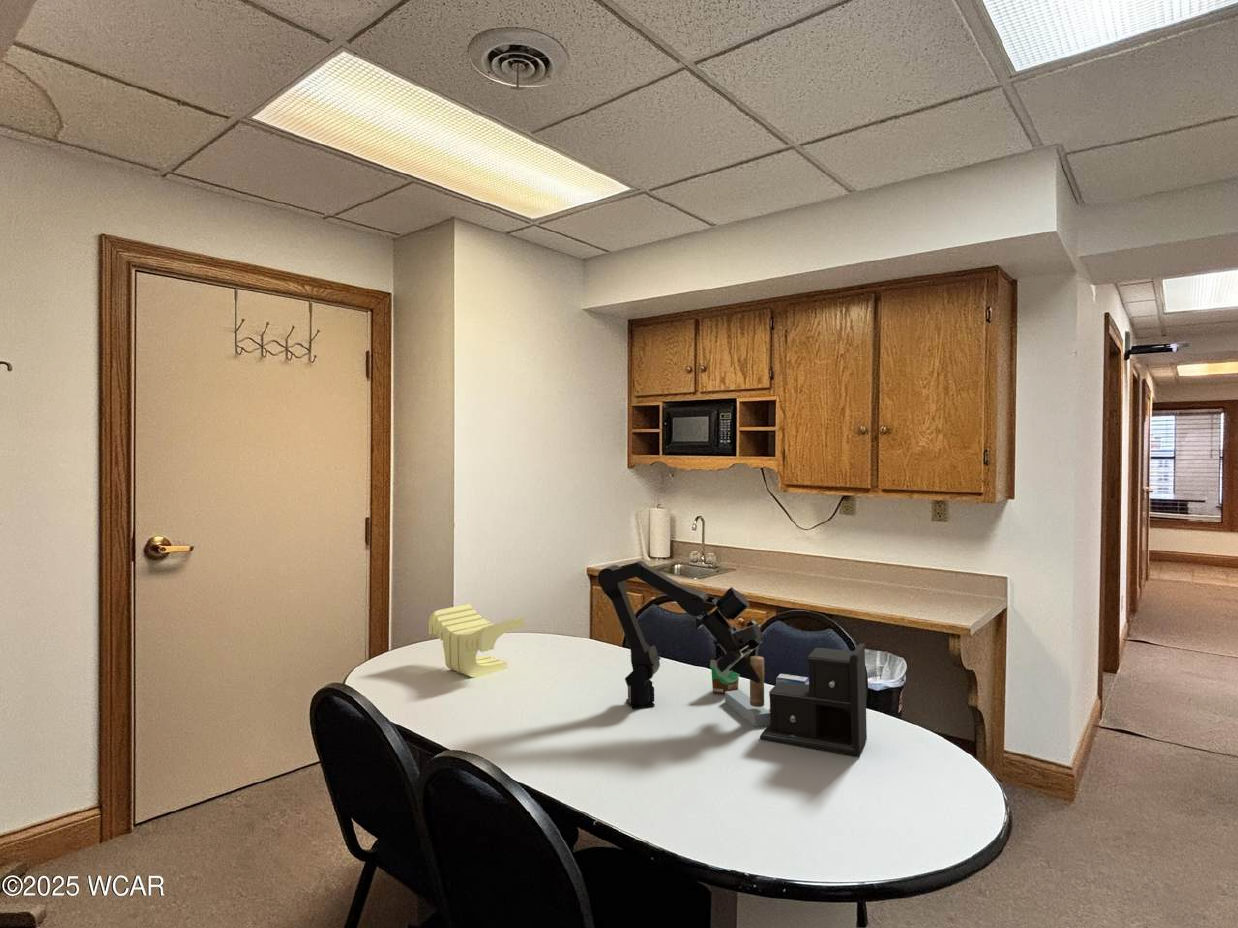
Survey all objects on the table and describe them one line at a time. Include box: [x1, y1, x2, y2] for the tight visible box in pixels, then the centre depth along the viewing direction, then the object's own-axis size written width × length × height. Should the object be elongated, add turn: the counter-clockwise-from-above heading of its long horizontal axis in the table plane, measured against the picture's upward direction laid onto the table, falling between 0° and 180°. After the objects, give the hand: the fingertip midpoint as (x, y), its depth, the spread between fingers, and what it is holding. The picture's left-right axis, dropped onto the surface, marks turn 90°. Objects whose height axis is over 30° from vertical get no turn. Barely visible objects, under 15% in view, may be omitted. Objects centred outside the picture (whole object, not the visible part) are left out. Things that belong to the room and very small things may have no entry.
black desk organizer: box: [759, 642, 868, 757], centre depth 170 cm, size 23×11×24 cm, turn 62°
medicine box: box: [775, 673, 809, 685], centre depth 191 cm, size 8×4×9 cm, turn 62°
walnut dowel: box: [749, 655, 765, 707], centre depth 182 cm, size 4×4×12 cm
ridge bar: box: [724, 689, 770, 728], centre depth 188 cm, size 4×18×3 cm, turn 16°
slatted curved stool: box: [428, 603, 525, 678], centre depth 229 cm, size 30×16×18 cm, turn 46°
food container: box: [709, 656, 740, 696], centre depth 205 cm, size 12×6×10 cm, turn 143°
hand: (762, 679), depth 182 cm, fingers closed on walnut dowel, 4 cm apart
